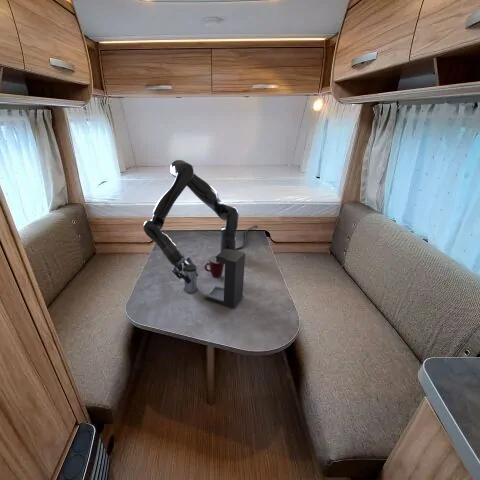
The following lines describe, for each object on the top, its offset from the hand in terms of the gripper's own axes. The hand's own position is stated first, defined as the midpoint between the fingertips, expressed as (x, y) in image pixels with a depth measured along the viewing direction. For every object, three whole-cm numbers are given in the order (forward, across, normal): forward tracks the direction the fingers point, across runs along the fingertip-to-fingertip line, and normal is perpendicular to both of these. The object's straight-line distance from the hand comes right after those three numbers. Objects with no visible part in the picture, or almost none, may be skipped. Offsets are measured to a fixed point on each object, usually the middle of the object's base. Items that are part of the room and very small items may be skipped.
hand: (193, 279), depth 132 cm
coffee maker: (+16, +2, -7) cm, 18 cm away
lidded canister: (+3, 0, +6) cm, 7 cm away
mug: (+6, +18, +3) cm, 19 cm away
